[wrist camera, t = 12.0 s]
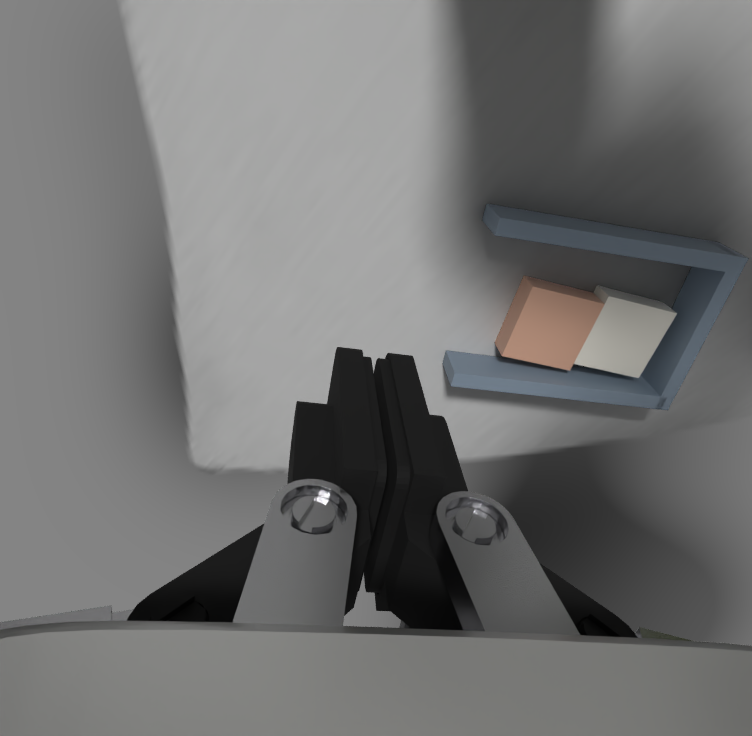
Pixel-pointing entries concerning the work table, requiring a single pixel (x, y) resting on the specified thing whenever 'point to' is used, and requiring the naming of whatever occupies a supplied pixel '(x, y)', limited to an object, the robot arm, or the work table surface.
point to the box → (675, 351)
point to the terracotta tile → (548, 323)
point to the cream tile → (625, 332)
